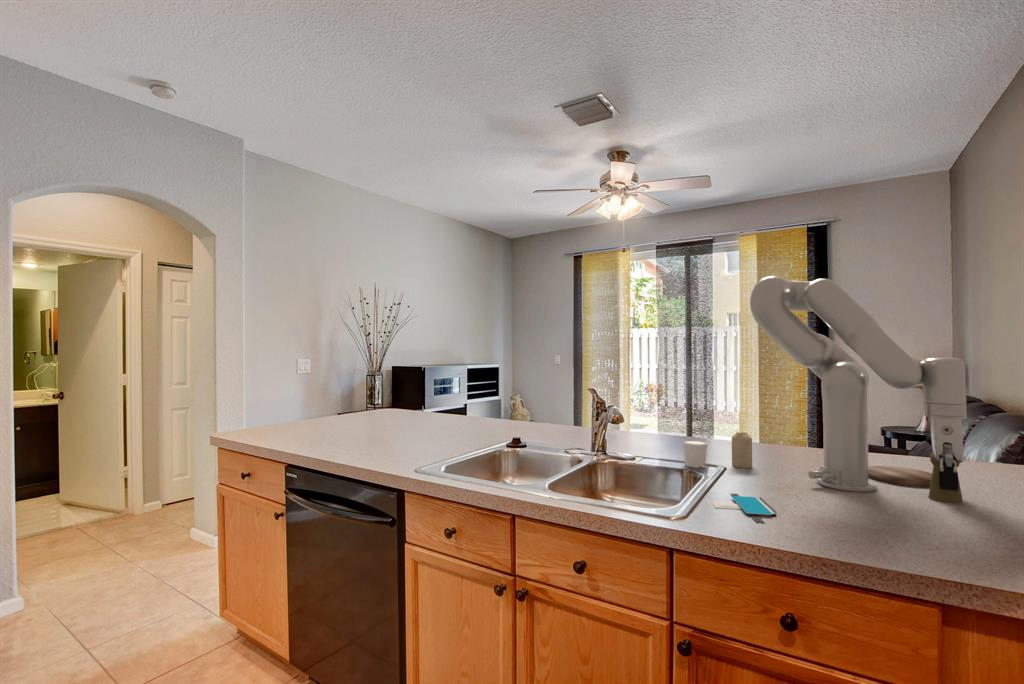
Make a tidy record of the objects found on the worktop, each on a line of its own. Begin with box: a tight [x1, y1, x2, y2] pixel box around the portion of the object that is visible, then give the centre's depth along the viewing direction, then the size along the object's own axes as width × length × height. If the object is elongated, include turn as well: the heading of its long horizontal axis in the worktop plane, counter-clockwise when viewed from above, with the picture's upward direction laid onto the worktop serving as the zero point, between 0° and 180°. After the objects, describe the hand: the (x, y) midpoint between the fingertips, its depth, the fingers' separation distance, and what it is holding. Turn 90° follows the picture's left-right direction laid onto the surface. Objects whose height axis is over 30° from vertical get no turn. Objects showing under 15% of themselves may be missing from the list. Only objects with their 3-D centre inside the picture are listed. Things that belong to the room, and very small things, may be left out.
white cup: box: [682, 440, 708, 469], centre depth 148 cm, size 7×7×7 cm
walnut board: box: [868, 465, 932, 488], centre depth 132 cm, size 16×16×2 cm
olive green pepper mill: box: [928, 452, 964, 505], centre depth 114 cm, size 6×6×11 cm
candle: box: [731, 431, 753, 469], centre depth 147 cm, size 6×6×10 cm
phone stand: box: [711, 493, 778, 524], centre depth 109 cm, size 20×12×2 cm, turn 170°
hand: (946, 484), depth 114 cm, fingers open, 9 cm apart
